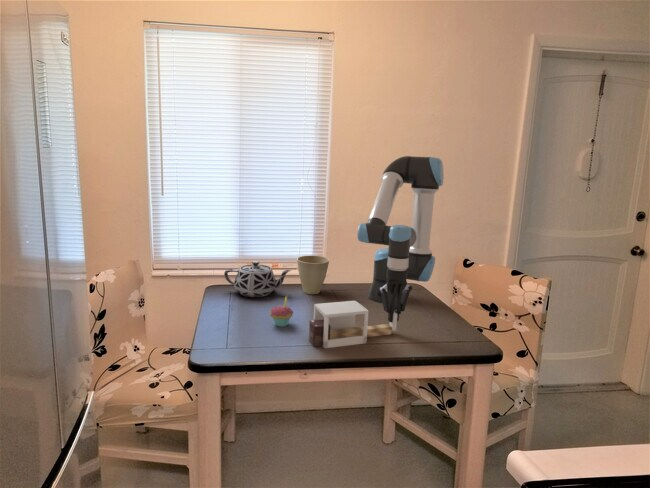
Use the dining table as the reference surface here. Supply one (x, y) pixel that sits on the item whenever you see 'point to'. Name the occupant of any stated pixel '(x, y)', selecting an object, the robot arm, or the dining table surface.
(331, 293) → the dining table surface
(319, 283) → the plant pot
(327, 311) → the tunnel
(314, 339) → the box
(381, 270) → the robot arm
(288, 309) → the cupcake
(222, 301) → the dining table surface
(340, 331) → the rod
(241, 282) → the teapot
